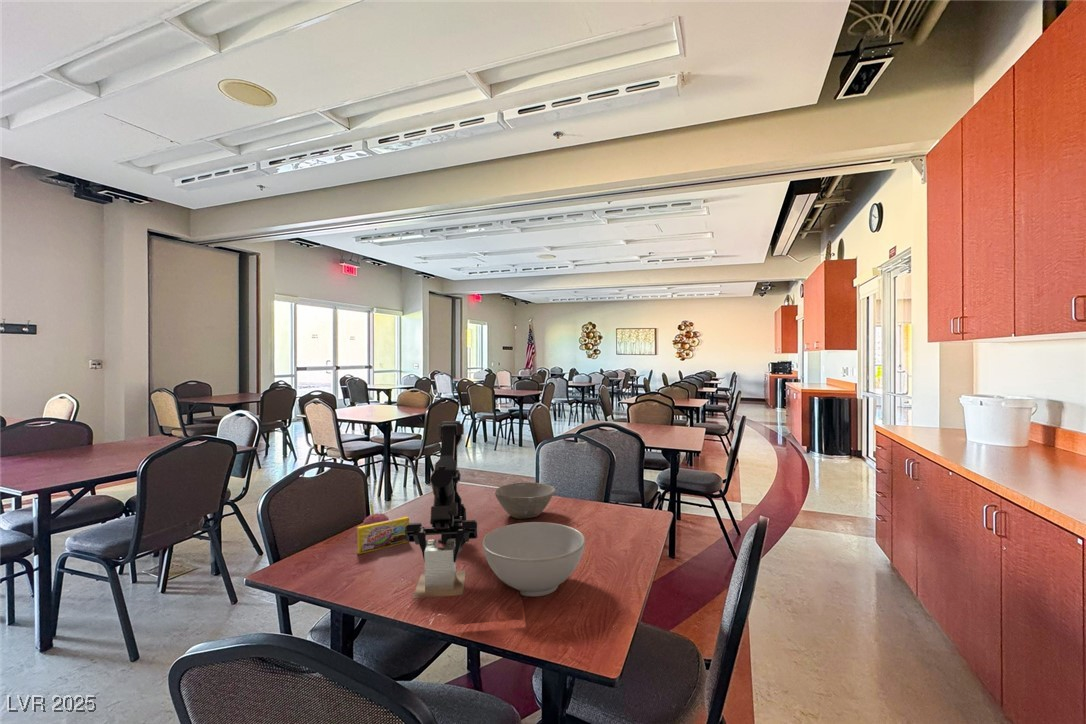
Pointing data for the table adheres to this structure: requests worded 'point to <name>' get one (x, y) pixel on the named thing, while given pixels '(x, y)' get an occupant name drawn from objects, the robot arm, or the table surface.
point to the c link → (439, 566)
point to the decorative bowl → (534, 555)
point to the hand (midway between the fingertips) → (440, 562)
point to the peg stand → (456, 591)
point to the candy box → (381, 535)
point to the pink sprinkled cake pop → (374, 517)
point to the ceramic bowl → (524, 498)
